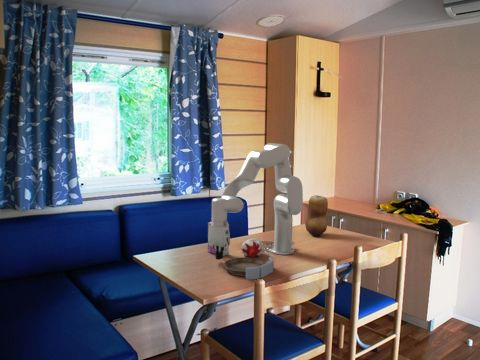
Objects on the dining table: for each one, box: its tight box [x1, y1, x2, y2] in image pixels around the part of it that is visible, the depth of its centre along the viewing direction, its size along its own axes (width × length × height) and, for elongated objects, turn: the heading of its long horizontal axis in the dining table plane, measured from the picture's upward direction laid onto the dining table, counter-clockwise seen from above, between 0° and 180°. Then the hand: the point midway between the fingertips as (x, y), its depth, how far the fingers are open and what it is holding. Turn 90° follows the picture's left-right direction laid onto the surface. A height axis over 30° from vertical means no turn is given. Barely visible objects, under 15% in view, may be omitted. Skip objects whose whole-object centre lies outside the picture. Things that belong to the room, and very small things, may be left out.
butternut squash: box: [304, 194, 329, 237], centre depth 269 cm, size 14×13×25 cm
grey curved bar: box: [245, 256, 275, 281], centre depth 201 cm, size 21×5×5 cm, turn 144°
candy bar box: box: [207, 221, 230, 257], centre depth 229 cm, size 11×5×16 cm, turn 51°
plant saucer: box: [223, 256, 267, 277], centre depth 206 cm, size 21×21×3 cm
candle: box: [240, 238, 263, 258], centre depth 225 cm, size 9×11×15 cm
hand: (219, 258), depth 216 cm, fingers closed
